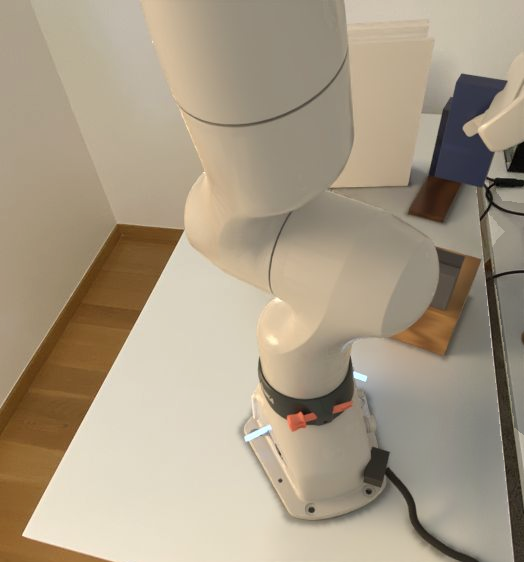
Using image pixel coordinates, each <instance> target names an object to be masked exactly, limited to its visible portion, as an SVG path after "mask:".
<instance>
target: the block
mask: <svg viewBox="0 0 524 562" xmlns="http://www.w3.org/2000/svg"><path fill="white" fill-rule="evenodd" d="M429 28H430V19H429V18H424V19H409V20H408V19H407V20H389V21H387V20H386V21H371V22H356V23H355V22H353V23H347V34H348V45H349V59H350V74H351V89H352V104H353V119H354V142H353V147H352V150H351V153H350V156H349V159H348V161H347V164H346V166H345V168H344V170H343V171H342V173H341V174H340V176H339V177H338V179H337V180H336V181H335V182H334V183H333V184H332V185H331V186H330V187H329V188H330V189H333V188H334V189H335V188H370V187H373V188H374V187H408V186H409V183H410V178H411V173H412V172H411V171H412V166H413V160H414V155H415V149H416V144H417V138H418V132H419V129H420V122H421V117H422V112H423V106H424V101H425V95H426V90H427V84H428V80H429V74H430V70H431V63H432V57H433V53H434V47H435V41H436V38H435V37H434V36H431V37H428V33H429ZM329 188H328V189H329Z"/></svg>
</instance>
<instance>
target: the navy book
mask: <svg viewBox="0 0 524 562" xmlns="http://www.w3.org/2000/svg"><path fill="white" fill-rule="evenodd" d="M507 82H508V81H507V80H504V79H500V78H494V77H487V76H481V75H474V74H468V73H462V72H461V73H460V75H459V77H458V78H457V80H456V81H455V85H454V90H453V93H452V97H453V98H452V102H451V107H450V111H449V115H448V120H447V124H446V128H445V133H444V137H443V142H442V146H441V150H440V155H439V159H438V164H437V168H436V172H435V177H438V178H442V179H446V180H451V181H455V182H459V183H463V184H464V185H468V186H473V187H477V188H483V187H484V185H485V183H486V181H487V178H488V175H489V172H490V170H491V166H492V163H493V160H494V156H495V154H496V152H491V151H490V150H489V149H488V148H487V146H486V145H485V143H484V142H483V140H482V139H481V137H480V135H479V134H478V133H477V134H475V135H473V136H471V137H469V136H467V135H466V133H465V132H464V130H463V126H464V124H465V123H466V121H467V120H468V119H470V118H472V117H473V116H475V115H477V116H479V115H481V114H483V113H485V111H486V110H488V109H489V107H490V105H491V103H492V101H493V99H494V97H495V96H496V95H497V94H498V93H499V92H500V91H502V90H504V88H505V86H506V84H507Z"/></svg>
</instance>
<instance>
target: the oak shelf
mask: <svg viewBox="0 0 524 562" xmlns="http://www.w3.org/2000/svg"><path fill="white" fill-rule="evenodd" d="M435 247H436V248H437V249H441V250H445V251H448V252H452V253H455V254H459V255H462V256H465V259H464V262H463V265H462V267H461V270H460V273H459V276H458V279H457V282H456V285H455V288H454V291H453V294H452V296H451V299H450V301H449V303H448V305H447V308H446V310H445V311H443V310H440V309H437V308H433V307H430V306H429V307H428V308H427V310H426V311H425V313H424V314H423V315H422V316H421V317H420V318H419V319H418V320H417V321H416V322H415V323H414V324H413V325H411V326H410V327H409V328H407V329H406V330H404V331H402V332H400V333H398V334H396V335H394V336H391V337H390V338H392V339H395V340H397V341H401V342H403V343H406V344H409V345H412V346H415V347H417V348H420V349H424V350H426V351H430V352H432V353H435V354H438V355H441V356H443V357H444V356H445V355H446V354H445V353H446V351H447V350H448V348H449V344H450V342H451V339H452V337H453V334H454V333H455V330H456V327H457V324H458V321H459V319H460V317H461V315H462V312H463V310H464V307H465V306H466V305H465V304H466V302H467V299H468V297H469V295H470V292H471V289H472V287H473V284H474V281H475V279H476V276H477V273H478V272H479V271H478V270H479V268H480V265H481V262H482V260H483V259H482V258H480V257H476V256H472V255H469V254H465V253H462V252H458V251H454V250H451V249H447V248H443V247H440V246H436V245H435Z"/></svg>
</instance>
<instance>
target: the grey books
mask: <svg viewBox="0 0 524 562" xmlns="http://www.w3.org/2000/svg"><path fill="white" fill-rule="evenodd" d="M436 251H437V254H438V260H439V281H438V285H437V289H436V292H435V295H434V297H433V300H432V302H431V303H430V305H429V306H430V307H433V308H437V309H440V310H443V311H445V310H446V308H447V305H448V303H449V301H450V299H451V296H452V294H453V291H454V288H455V285H456V282H457V279H458V276H459V273H460V270H461V267H462V265H463V262H464V259H465V256H462V255H459V254H455V253H452V252H448V251H445V250H441V249H437V248H436Z"/></svg>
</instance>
